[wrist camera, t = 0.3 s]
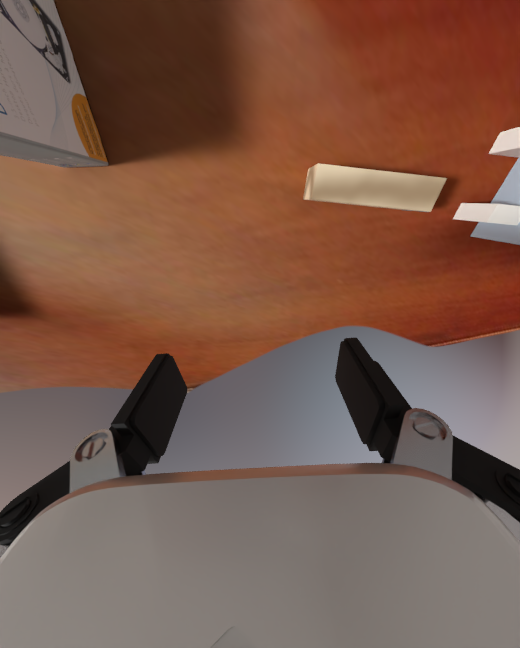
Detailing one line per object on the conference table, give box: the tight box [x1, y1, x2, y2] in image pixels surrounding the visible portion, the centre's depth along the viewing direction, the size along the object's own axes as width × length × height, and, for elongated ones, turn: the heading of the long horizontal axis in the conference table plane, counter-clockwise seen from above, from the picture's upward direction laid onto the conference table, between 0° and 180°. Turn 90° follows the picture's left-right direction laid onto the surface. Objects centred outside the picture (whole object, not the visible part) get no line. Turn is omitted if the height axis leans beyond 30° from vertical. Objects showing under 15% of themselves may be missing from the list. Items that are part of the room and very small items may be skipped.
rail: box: [303, 163, 447, 212], centre depth 30 cm, size 4×18×6 cm, turn 85°
